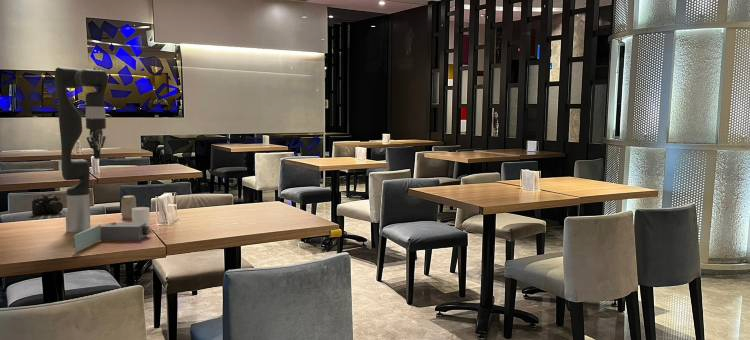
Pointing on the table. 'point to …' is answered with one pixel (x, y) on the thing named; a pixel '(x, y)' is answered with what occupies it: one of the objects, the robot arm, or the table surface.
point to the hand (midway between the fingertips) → (97, 158)
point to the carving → (127, 206)
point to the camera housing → (124, 231)
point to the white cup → (140, 215)
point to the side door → (87, 238)
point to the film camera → (46, 205)
